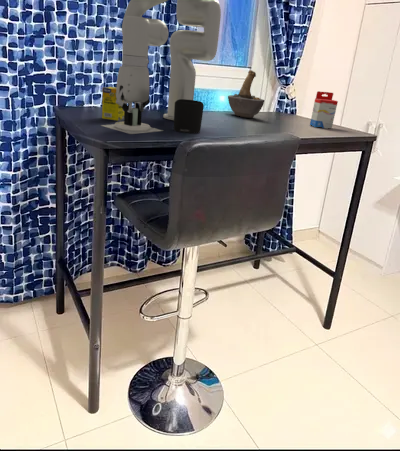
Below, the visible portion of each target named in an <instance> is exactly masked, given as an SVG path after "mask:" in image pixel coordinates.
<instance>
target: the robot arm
mask: <svg viewBox="0 0 400 451" xmlns="http://www.w3.org/2000/svg"><path fill="white" fill-rule="evenodd" d="M168 1H169V0H130V1H129V2H128V4H127V6H126V8H125V12H124V16H123V19H122V25H121V33H122V47H121V48H122V52H121V54H122V58H121V65H120V66H119V69H118V74H117V79H116V98H117V100H116V103H117V104H118V105H120V106H121V108H122V109H123V111H124V120H123V122H124V124H125V125H129V126H132V124H133V113H131V111H132V108H133V103H134V108H137V109H138V122H137V125H141V123H142V116H143V115H142V113H144V109H145V108H146V106H147V105H149V104H150V103H151V101H150V73H149V68H148V64H149V62H150V61H149V47H160V46H163V45H165V44H166V43H167V41H168V38H170V39H169V52H170V73H169V74H170V75H169V90H168V101H167V102H168V104H167V113H164V114H163V117H162V118H164V119H167V120H171V121H174V107H175V102H176V101H177V100H179V99H186V100H194V99H195V98H194V95H195V86H196V76H197V74H196V68H195V65H194V63H193V62H192V61H193V60H196V61H204V62H207V61H208V62H209V61H212V60H214V58H216V55H217V51H218V44H219V36H220V27H221V17H222V16H221V15H222V11H221V4H220V2H219V0H176V20H177V22H178V23H179V25H182V26H185V27H186V26H187V27H194V28H203V31H199V30H189V29H179V30H176V31H173V33H172V34H171V36H170V37H169V29H168V26H167V24H166V22H164V21H163V20H160V19H156V18H149V17H148V18H146V17H143V15H144V14H145V13H146V12H147V11H149V10H150V9H152V8H154V7H155V6H157V5H161V4H163V3H165V2H168Z"/></svg>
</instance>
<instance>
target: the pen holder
mask: <svg viewBox="0 0 400 451" xmlns="http://www.w3.org/2000/svg"><path fill="white" fill-rule="evenodd" d="M204 108H205V106H204V103H203V102H202V101H200V100H194V99H193V100H186V99H179V100H177V101H176V102H175V107H174V120H173V131H174V132H178V133H183V134H200V132H201V128H202V123H203V121H202V120H203V113H204Z"/></svg>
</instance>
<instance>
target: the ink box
mask: <svg viewBox="0 0 400 451" xmlns="http://www.w3.org/2000/svg"><path fill="white" fill-rule="evenodd" d="M315 95H316V96H315V98H314V103H313V107H312V113H311V118H310V123H309V126H310V125H312V126H314V127H313V128H315V127H322V128H321V129H328V128H333V124H334V120H335V115H336V111H337V106H338V102H339V101H338V100H335V99H333V97H334V92H328V91H317V92H316V94H315ZM312 126H311V127H312Z"/></svg>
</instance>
